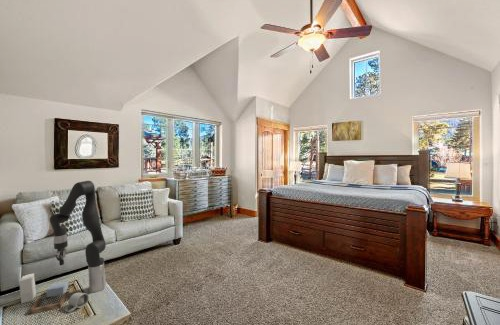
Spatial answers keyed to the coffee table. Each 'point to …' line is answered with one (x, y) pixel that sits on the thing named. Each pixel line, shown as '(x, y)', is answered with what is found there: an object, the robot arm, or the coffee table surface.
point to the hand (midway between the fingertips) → (61, 264)
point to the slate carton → (57, 289)
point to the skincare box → (27, 288)
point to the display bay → (48, 307)
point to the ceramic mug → (77, 301)
